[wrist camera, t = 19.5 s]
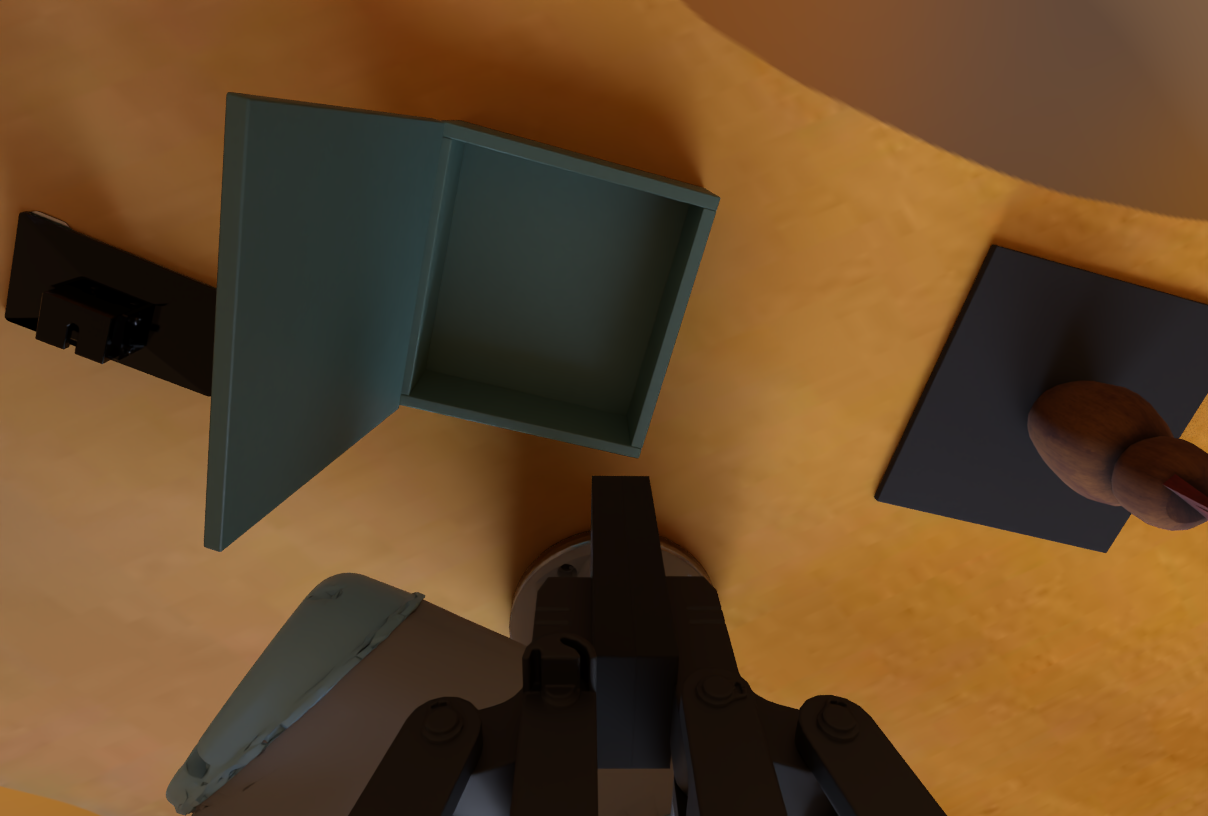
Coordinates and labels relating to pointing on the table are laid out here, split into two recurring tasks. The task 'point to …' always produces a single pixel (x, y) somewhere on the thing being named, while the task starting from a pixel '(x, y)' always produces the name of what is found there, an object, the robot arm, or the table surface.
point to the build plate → (111, 303)
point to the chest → (551, 289)
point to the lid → (310, 292)
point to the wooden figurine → (1120, 453)
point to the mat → (1040, 393)
